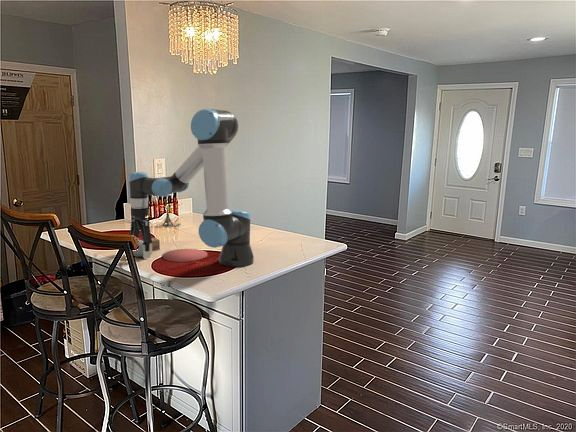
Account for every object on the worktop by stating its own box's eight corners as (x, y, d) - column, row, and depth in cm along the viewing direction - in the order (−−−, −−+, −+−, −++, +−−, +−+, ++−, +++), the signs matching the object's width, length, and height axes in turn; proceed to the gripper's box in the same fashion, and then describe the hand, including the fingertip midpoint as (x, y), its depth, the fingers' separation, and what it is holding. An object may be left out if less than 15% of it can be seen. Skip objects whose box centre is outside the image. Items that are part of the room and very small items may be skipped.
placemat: (215, 256, 199) (215, 255, 199) (175, 264, 186) (175, 263, 186) (193, 247, 214) (193, 246, 214) (154, 254, 201) (154, 253, 201)
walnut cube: (159, 249, 209) (159, 239, 208) (149, 251, 206) (149, 240, 205) (155, 247, 213) (154, 237, 212) (145, 249, 210) (144, 238, 209)
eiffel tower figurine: (154, 228, 256) (154, 206, 254) (154, 225, 266) (154, 203, 263) (181, 227, 261) (180, 205, 258) (180, 224, 270) (179, 202, 268)
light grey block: (149, 258, 194) (148, 241, 193) (130, 258, 193) (129, 241, 192) (154, 252, 204) (154, 236, 203) (137, 252, 204) (136, 236, 203)
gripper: (159, 210, 188) (160, 259, 192) (136, 202, 204) (138, 248, 209) (142, 211, 183) (144, 262, 187) (120, 204, 199) (123, 251, 204)
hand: (141, 255), depth 198 cm, fingers closed on light grey block, 11 cm apart
